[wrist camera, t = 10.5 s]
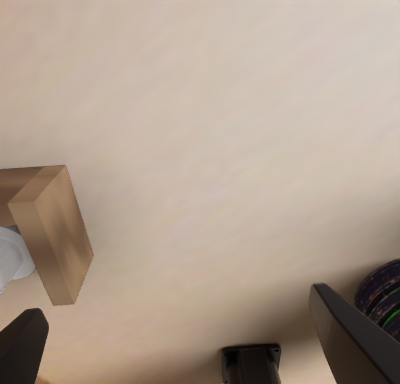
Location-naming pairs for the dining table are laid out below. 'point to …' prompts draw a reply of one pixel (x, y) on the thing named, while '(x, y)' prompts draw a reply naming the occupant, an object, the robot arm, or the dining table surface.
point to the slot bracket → (48, 226)
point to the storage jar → (382, 298)
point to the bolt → (13, 256)
